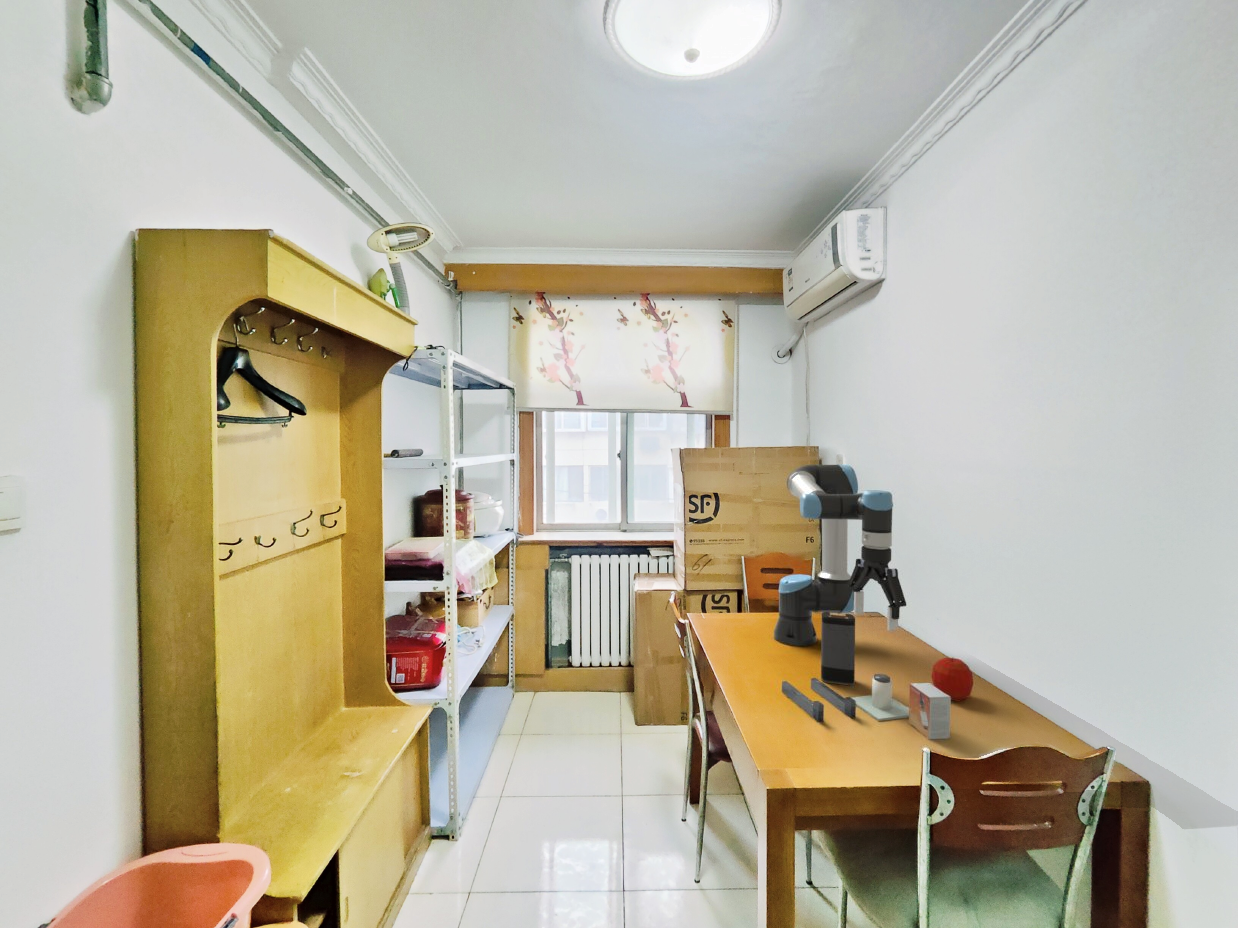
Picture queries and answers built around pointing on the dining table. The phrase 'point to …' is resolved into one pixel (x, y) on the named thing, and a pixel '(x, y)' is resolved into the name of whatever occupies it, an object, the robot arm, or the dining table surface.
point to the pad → (881, 715)
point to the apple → (952, 678)
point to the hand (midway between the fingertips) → (874, 621)
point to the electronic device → (838, 649)
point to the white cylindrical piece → (882, 692)
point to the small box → (929, 711)
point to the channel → (816, 707)
